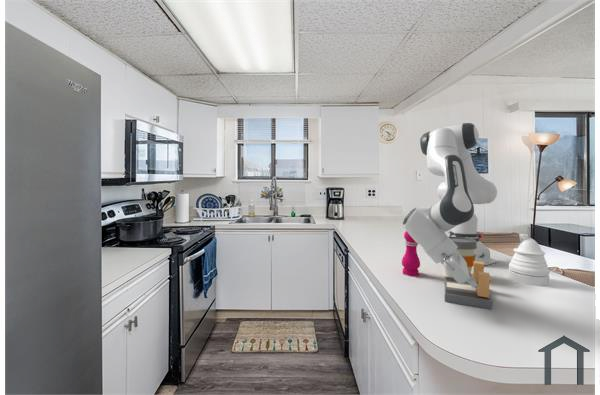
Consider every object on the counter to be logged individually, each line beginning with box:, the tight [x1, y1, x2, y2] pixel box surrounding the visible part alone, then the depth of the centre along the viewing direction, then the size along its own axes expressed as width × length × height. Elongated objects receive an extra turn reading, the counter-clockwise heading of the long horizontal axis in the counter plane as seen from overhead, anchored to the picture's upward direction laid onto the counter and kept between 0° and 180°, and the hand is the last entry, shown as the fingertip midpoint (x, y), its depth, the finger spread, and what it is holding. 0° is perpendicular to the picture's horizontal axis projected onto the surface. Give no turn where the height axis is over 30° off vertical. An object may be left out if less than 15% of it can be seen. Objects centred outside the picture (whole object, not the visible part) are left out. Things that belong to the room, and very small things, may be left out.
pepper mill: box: [401, 230, 421, 277], centre depth 126 cm, size 7×7×20 cm
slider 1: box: [472, 261, 485, 281], centre depth 109 cm, size 3×3×7 cm
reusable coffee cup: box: [444, 236, 477, 277], centre depth 125 cm, size 12×13×15 cm
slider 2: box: [477, 271, 491, 298], centre depth 96 cm, size 3×3×7 cm
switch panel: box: [444, 275, 494, 310], centre depth 104 cm, size 13×20×3 cm, turn 155°
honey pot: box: [507, 233, 550, 287], centre depth 120 cm, size 13×13×18 cm
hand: (475, 285), depth 97 cm, fingers closed, pressing on slider 2
